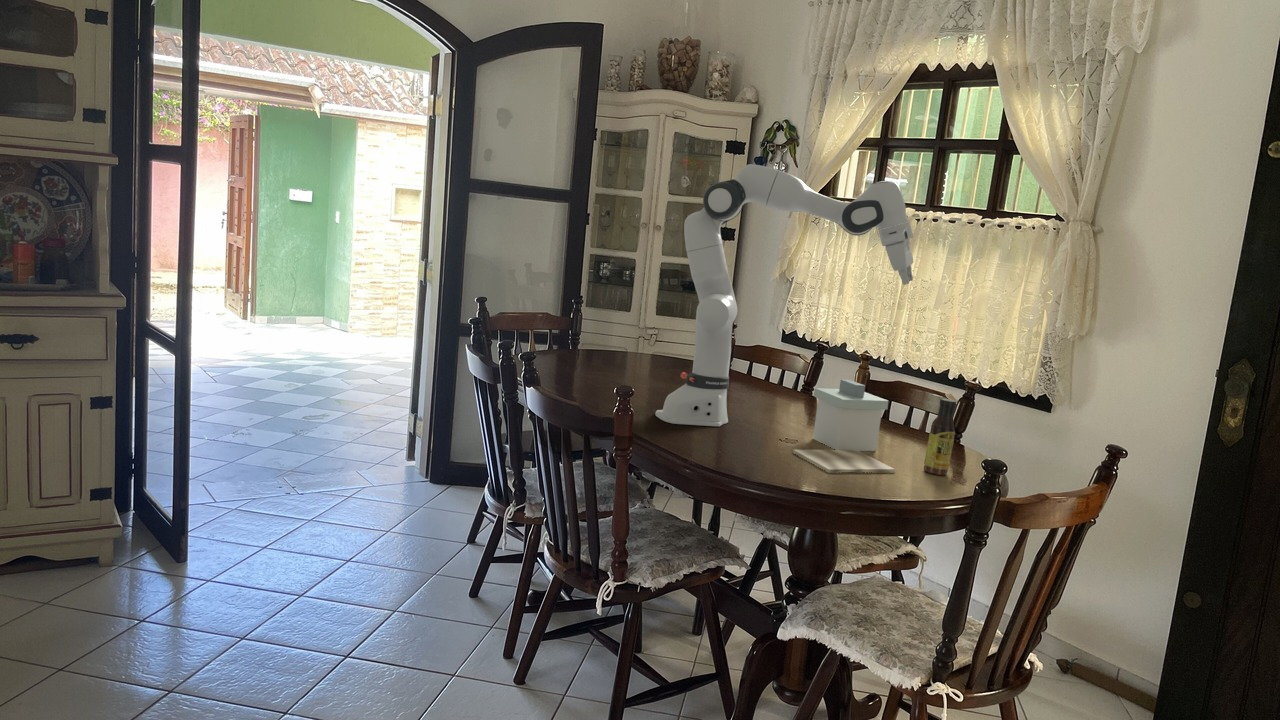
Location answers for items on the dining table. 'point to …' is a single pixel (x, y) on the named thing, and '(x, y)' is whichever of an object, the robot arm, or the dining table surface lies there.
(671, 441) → the dining table surface
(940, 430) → the sauce bottle
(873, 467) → the board
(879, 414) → the box
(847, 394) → the lid
